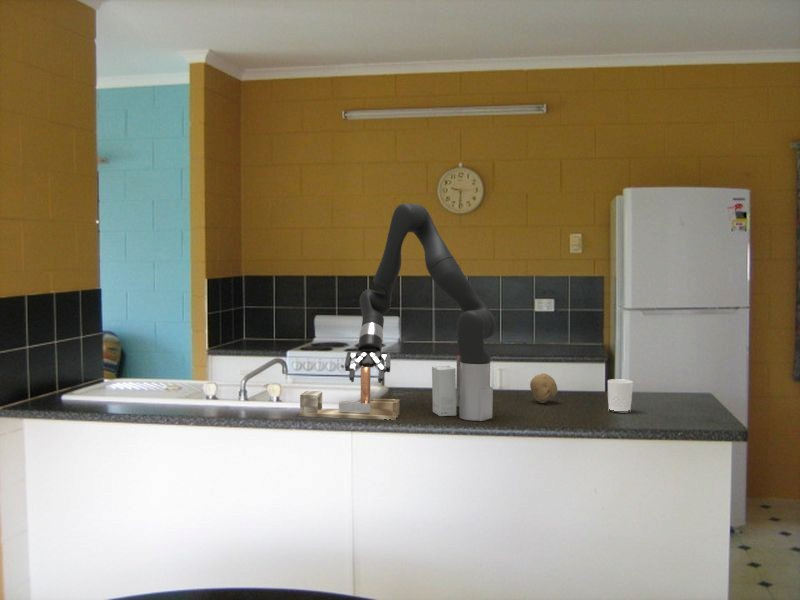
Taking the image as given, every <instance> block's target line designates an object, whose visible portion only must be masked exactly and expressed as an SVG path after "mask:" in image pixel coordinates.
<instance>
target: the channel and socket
mask: <svg viewBox="0 0 800 600" xmlns="http://www.w3.org/2000/svg"><path fill="white" fill-rule="evenodd" d="M299 398H300V399H299V402H300V403H299V413H298V416H299V417H306V418H309V417H312V418H333V419H334V418H337V419H359V420H360V419H361V420H362V419H364V420H384V419H387V420H388V421H389V419H391V420H392V421H396V420H397V419H398V417H399V416H400V399H399V398H398V399H396V398H372V400H370V413H346V412H339V408H338V409H337V408H323V390H305V391H303V392H302V393H301V394H299ZM398 415H399V416H398ZM396 418H397V419H396ZM391 420H390V421H391Z"/></svg>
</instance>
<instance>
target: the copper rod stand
mask: <svg viewBox="0 0 800 600" xmlns="http://www.w3.org/2000/svg"><path fill="white" fill-rule="evenodd" d="M371 368H372V367H363V366H362V367H361V368H360V400H359V401H358V400H356V401H354V400H353V401H352V400H340V401H339V402H338V409H339V412H346V413H370V402H371V371H372V370H371Z"/></svg>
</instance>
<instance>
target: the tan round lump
mask: <svg viewBox="0 0 800 600" xmlns="http://www.w3.org/2000/svg"><path fill="white" fill-rule="evenodd" d="M529 383H530V384H529V386H530V391H531V394H532V396H533V397H534V399H535V400H536V401H537V402H538V401H539V403H540V402H545V403H546V402H547V401H549V400H550V399H552V398H554V397H556V395H557V393H558V386H557V385H558V384H557V383H556V381H555V379H554V378H553V377H552V376H551V375H550V374H547V373H540V374H537V375H535V376H534V377H532V379H531V380H530V382H529Z"/></svg>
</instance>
